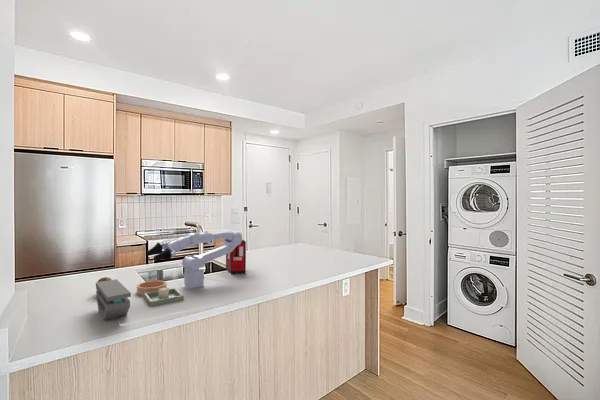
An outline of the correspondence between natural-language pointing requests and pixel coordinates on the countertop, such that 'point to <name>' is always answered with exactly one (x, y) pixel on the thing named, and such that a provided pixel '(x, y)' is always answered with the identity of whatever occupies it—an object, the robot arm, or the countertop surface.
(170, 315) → the countertop surface
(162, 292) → the cream rounded capsule
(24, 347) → the countertop surface
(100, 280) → the potato
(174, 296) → the parts tray
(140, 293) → the bowl
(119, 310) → the grey storage case
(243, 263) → the cleaning product box
